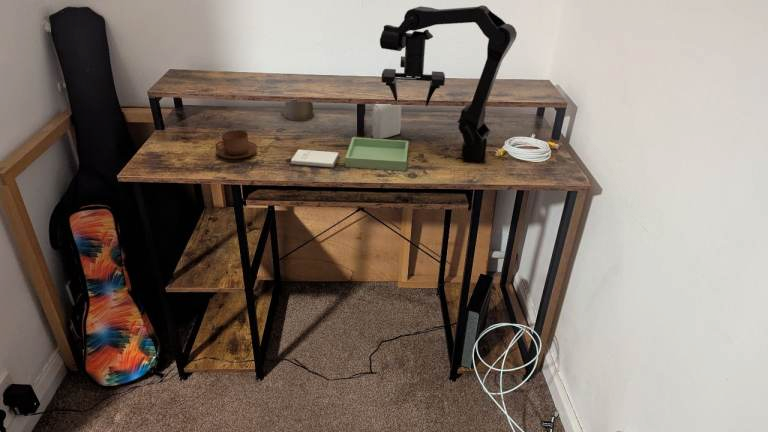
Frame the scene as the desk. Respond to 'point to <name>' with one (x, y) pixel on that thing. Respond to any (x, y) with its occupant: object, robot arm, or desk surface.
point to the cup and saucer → (235, 145)
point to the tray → (377, 154)
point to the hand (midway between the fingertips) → (411, 104)
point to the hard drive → (315, 158)
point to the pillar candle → (299, 111)
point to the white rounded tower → (386, 120)
